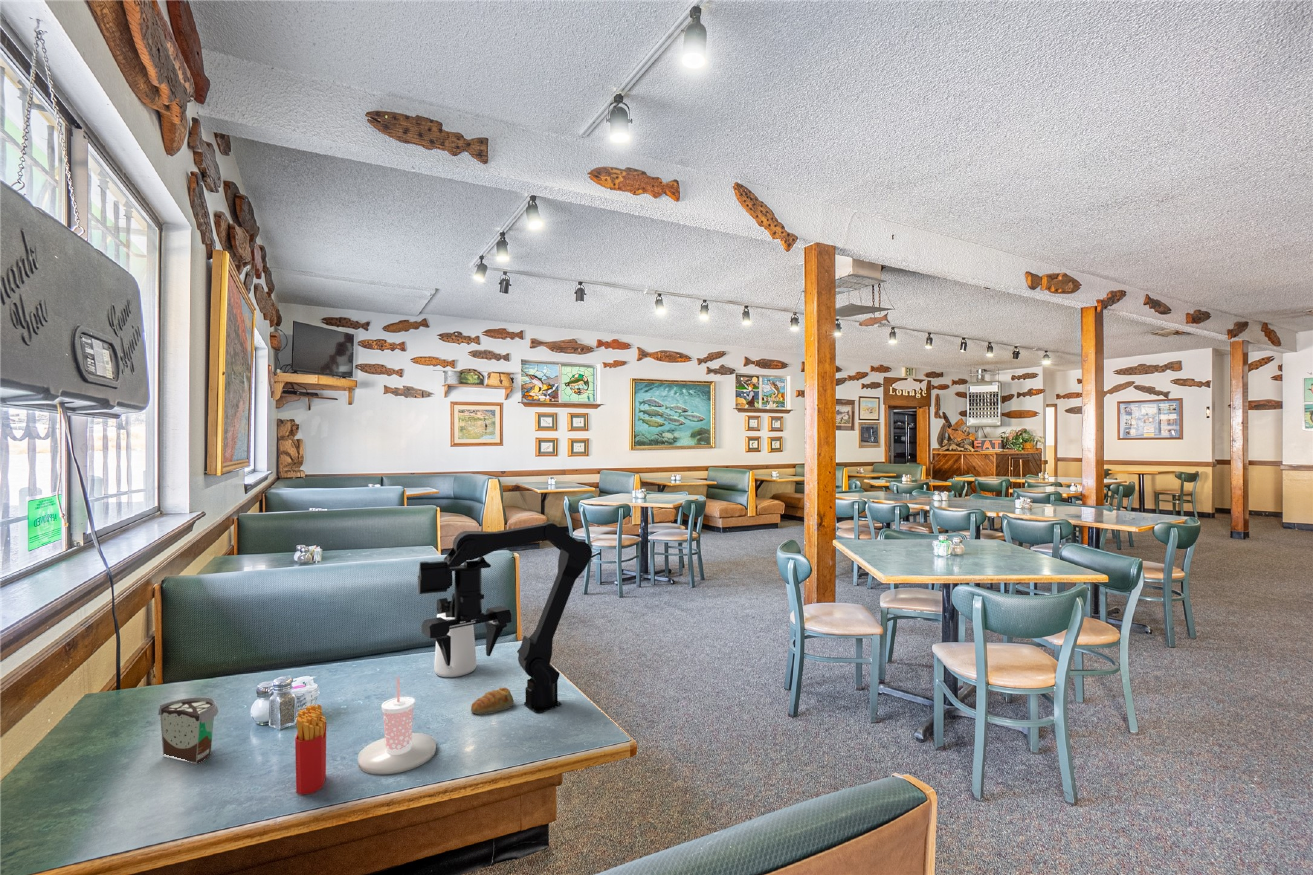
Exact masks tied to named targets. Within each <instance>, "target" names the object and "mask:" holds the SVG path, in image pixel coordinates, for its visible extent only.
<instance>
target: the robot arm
mask: <svg viewBox="0 0 1313 875" xmlns="http://www.w3.org/2000/svg"><path fill="white" fill-rule="evenodd" d="M547 541H548V542H549V543H550V544H551V545H552V546H554V547H555V548H556V549H558V550H559V554H558V560H557V564H558V565H557V573H556V574H557V575H556V577H555V580H554V581H553V584H552V586H551V589H550V592H549V594H548V597H547V599H546V603H545V604H544V606H543V607H544V608H543V609H542V612H541V615H540V617H539V620H538V622H537V625H536V627H535V629H534V632H533V633H532V634H530V635H529V636H526V635H523V637H522V640H521V644H520V646H519V648H518V649H517V651H516V653H517V654H518V656H517V661H518V664H519V667H520V668H522V670H523V671H524V672H525V674H526V675H527V676H528V677H530V678H528V679H527V680H526V681H527V682H526V687H525V688H524V689H525V691H524V693H525V701H524V702H523V705H524V706H525V707H527V708H529V709H530V710H531V711H533V712H535V713H537V714H539V713H542V712H546V711H548V710H551V709H555V708H558V707H561V706H562V702H560V701H559V698H558V696H559V695H558V694H559V692H558V691H559V690H558V684H559V683H558V681H559V679H560V675H561V674H560V672H559V671H558V670H557V669H556V667H554V666H553V665H552V663H551V661H552V655H553V646H554V645H553V643H554V642H553V641H554V637H555V634H556V632H557V629H558V626H559V624H560V621H561V619H562V616H563V613H564V610H565V607H566V605H567V603H568V601H569V599H570V598H569V597H570V595H571V593H572V589H573V588H574V585H575V583H576V581H577V579H578V578H579V577H580V576H581V575H582V574H583V572H584V571H585V570H586V568H587V567H588V564H589V562H590V561H591V559H592V557H593V556H592V555H593V550H592V547H591V546H590V544H589V543H588V542H586V541H583V540H581V539H579V538H574V537H573V536H571V535H570V534H568V532H565V531H564V530H563V529H561V527H559V526H558V525H557V524H556V523H553V522H550V521H544V522H542V523H538V524H532V525H526V526H525V525H524V526H521V527H514V528H508V529H503V530H497V531H486V530H485V531H484V530H463V531H460V532H459V533H458V534H457V535H456V536H455V537H454V538H453V541H452V547H451V549H450V550H449V552H448V553H447V554H446V556H444V558H443V560H440V561H439V560H436V561H426V560H425V561H420V562H419V568H418V575H417V589H418V595H426V594H428V595H429V594H436V593H447V592H448V589H449V590H450V589H451V587H453V575H454V592H452V595H451V600H448V598H447V597H444V598H443V597H442V598H439V599H436V612H437V615H438V614H442V613H445V614H446V617H452V618H453V617H454V618H455V619H453V620H445V619H443V618H441V617H438V618H437V617H433V618H432V617H431V618H428V619H425V620H423V622H422V624H421V634H423V635H425V636H426V637H428V638H429V639H432V640H434V641H435V642H436V641H437V643H438V645H439V647H440V649H441V652H442V655H443V657H444V660H445V663H446V665H447V666H450V661H451V636H449V635H447V634H448V633H449V631H450V629H453V628H458V627H463V626H468V625H473V626H474V625H478V624H482V623H483V624H484V625H485V629H486V635H485V636H486V637H485V640H486V641H485V653H486V654H485V655H486V656H487V657H491V655H492V652H493V650H494V648H495V646H496V644H497V641H498V640H499V638H500V635H501V634H502V632H503V630H504V628H507V627H508V624H510V623H513V613H512V611H511V609H510V608H507V607H504V606H502V605H498V606H493V607H488V608H486V610H485V612H483V610H482V608H483V607H482V605H483V603H482V602H483V600H484V599H485V594H484V593H483V592H482V590H483V588H482V587H483V584H482V579H483V578H482V577H483V576H482V569H490V568H491V567H492V565H491V564H490V563H489V562H488V561H487V560H486V558H485V557H484V556H487V555H490V554H491V553H493V552H495V551H498V550H502V549H507V548H514V547H516V546H517V547H518V546H522V545H528V544H534V543H540V542H547ZM453 572H454V574H453ZM471 620H473V621H471ZM460 622H462V623H460Z"/></svg>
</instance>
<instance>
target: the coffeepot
mask: <svg viewBox="0 0 1313 875" xmlns="http://www.w3.org/2000/svg"><path fill="white" fill-rule="evenodd" d="M438 617H441V618H443V619H445V620H453V619H455V618H454V617H453V618H452V617H446V614H445V613H442V614H438V613H437V614H436V618H438ZM471 621H473V620H471ZM460 623H462V622H460ZM474 631H475V628H474V624H473V625H468V626H463V627H458V628H453V629H450V631H449V633H448V634H447V635H449V636H451V661H450V666H447V665H446V663H445V660H444V657H443V655H442V652H441V649H440V647H439V645H438V643H437V641H435V653H434V664H433V666H434V667H433V671H434V673H435V674H436V675H437V676H439V677H442V678H457V677H462V676H463V677H464V676H465V675H468V674H470V673H472V672H473V671H475V669H476V668H477V652H476V642H475V641H476V639H475V632H474Z"/></svg>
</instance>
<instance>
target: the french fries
mask: <svg viewBox="0 0 1313 875" xmlns="http://www.w3.org/2000/svg"><path fill="white" fill-rule="evenodd" d="M322 707H323V706H322V705H321V704H318V703H317V704H313V705H312V704H309V705H306V706H305V709H303V708H302V710H301V709H300V710H298V712H297V716H296V719H295V720H296V730H297V733H296V736H295V738H294V741H295V742H294V750H295V753H294V754H295V792H296V793H297V794H298V795H301V796H303V795H308V794H315V793H317V791H319V790H321V789H322V788H323V786H324V784H325V781H326V777H327V721H326V719H327V718H326V717H325V716H323V711H322Z"/></svg>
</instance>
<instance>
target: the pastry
mask: <svg viewBox="0 0 1313 875" xmlns="http://www.w3.org/2000/svg"><path fill="white" fill-rule="evenodd" d="M514 703H515V700H514V698H513V695H512V693H511V690H510V689H509V688H508V687H499V688H498V689H495V690H494V689H493V690H492V691H488V692H486V693H484V695H482V696H481V697H478V698H477V699H476V700H474V702H472V704H471V707H470V712H471V713H473V714H476V715H482V716H483V715H486V713H488V714H494V712H495V713H497V712H500V711H504V710H507V709H509V708H511V707H513V705H514Z"/></svg>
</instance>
